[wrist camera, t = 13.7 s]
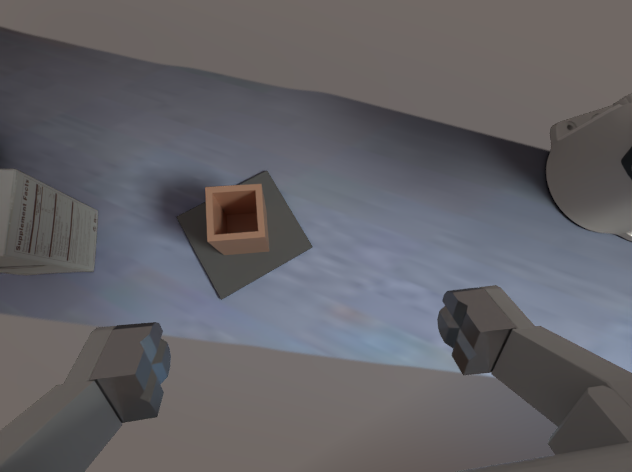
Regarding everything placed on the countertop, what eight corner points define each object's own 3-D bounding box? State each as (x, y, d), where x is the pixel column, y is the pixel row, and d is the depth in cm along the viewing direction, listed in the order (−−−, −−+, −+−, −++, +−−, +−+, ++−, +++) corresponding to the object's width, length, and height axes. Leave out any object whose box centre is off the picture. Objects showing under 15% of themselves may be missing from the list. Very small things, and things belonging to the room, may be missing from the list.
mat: (267, 171, 41) (266, 170, 41) (312, 247, 40) (312, 246, 40) (177, 217, 39) (176, 216, 39) (221, 299, 38) (221, 299, 37)
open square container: (266, 208, 40) (261, 183, 32) (269, 251, 39) (265, 236, 31) (222, 212, 39) (205, 187, 31) (224, 255, 38) (207, 241, 30)
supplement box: (25, 276, 36) (-109, 262, 24) (32, 211, 38) (-90, 166, 25) (96, 273, 37) (2, 258, 25) (101, 209, 39) (15, 165, 26)
